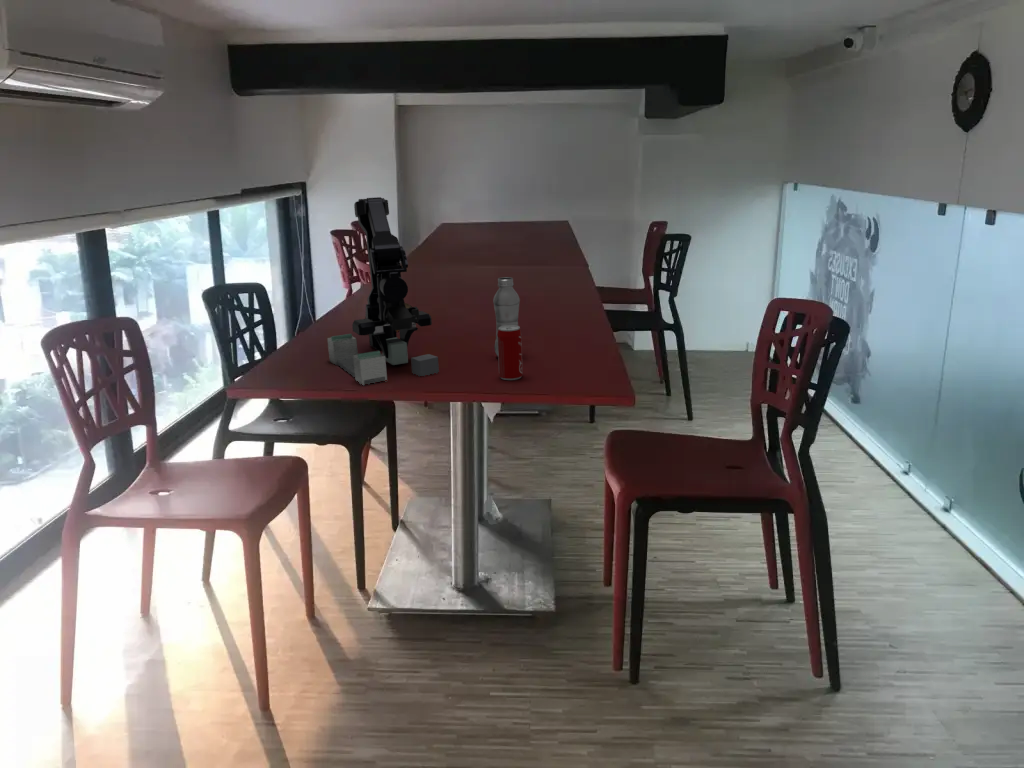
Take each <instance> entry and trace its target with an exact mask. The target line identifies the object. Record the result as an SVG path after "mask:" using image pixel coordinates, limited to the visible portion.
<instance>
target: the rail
mask: <svg viewBox="0 0 1024 768" xmlns="http://www.w3.org/2000/svg"><path fill="white" fill-rule="evenodd" d="M327 350H328V357H329V362H330V363H332V364H333V365H334V364H335V366H338V367H339V366H340V367H339V368H340V369H342V368H343V369H344V370H343V369H342V370H343V371H345V372H346V371H347V372H348V373H347V372H346V373H347V374H349V375H350V374H351V375H352V376H351V375H350V376H351V377H352V378H354V377H355V378H354V379H355V381H356V382H357V381H358V382H359V383H358V382H357V383H358V384H360V385H361V384H362V385H363V386H366V385H365V384H368V385H371V384H370V383H374V384H376V383H375V382H380V381H385V380H387V381H388V374H387V364H386V363H387V361H386V360H385V356H384V355H383V353H381V351H380V350H373V351H368V352H366V351H365V352H362V353H361V352H360V353H359V351H358V342H357V337H354V336H353V334H352V333H346V334H340V335H332V336H330V337H327ZM385 382H386V381H385ZM380 383H381V382H380ZM362 385H361V386H362Z"/></svg>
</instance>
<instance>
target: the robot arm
mask: <svg viewBox="0 0 1024 768" xmlns="http://www.w3.org/2000/svg"><path fill="white" fill-rule="evenodd" d="M353 207H354V216H355V218H357V222H358V225H359V227H360V228H361V229H362V231H363V232H364V233H365V237H366V238H365V240H366V247H367V248H366V249H367V256H368V264H369V274H370V275H369V276H370V281H371V282H370V283H371V290H370V292H369V294H368V297H367V300H366V301H367V304H365V316H364V318H362V319H355V320H354V321H353V322H352V325H351V326H352V332H353V333H356V334H357V335H359V336H366V335H368V339H369V346H370V347H372V348H374V349H375V351H380V350H381V351H382V352H383V353H382V354H384V356H385V358H388V349H387V342H386V339H390V338H396V337H397V338H398V336H397V335H398V334H397V332H396V331H398V330H399V332H398V333H399V339H400V340H402V341H404V342H406V343H407V347H408V345H409V343H410V342H409V341H410V339H411V337H412V335H413V333H414V332H416V331H418V330H419V328H418V327H417V326H420V327H427V326H432V324H433V321H432V315H430V314H429V313H427V312H425V311H424V310H420V311H419V308H418V307H417V306H412V307H410V308H406V307H405V303H406V301H405V298H406V296H407V295H408V291H409V287H408V284H407V283H406V281H405V280H404V279H403V278H402V274H401V273H407V271H408V267H409V262H408V258H407V254H406V250H405V249H404V247H403V246H402V245H400V242H399V238H398V237H397V236H395V235H394V234H392V233H391V228H390V225H389V221H388V220H389V219H388V217H387V216H389V215H390V207H389V200H388V199H385V198H384V197H381V196H379V197H378V196H377V197H366V198H359V199H358V200H357V201H355V202H354V205H353ZM365 317H366V319H365Z"/></svg>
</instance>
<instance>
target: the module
mask: <svg viewBox="0 0 1024 768" xmlns="http://www.w3.org/2000/svg"><path fill="white" fill-rule="evenodd" d="M386 342H387V349H388V358H385V360H386V363H389V365H392V366H395V365H396V366H397V365H401V364H408V363H409V355H408V346H407V343H406V342H404V341H402V340H400V337H399V338H398V336H397V337H396V338H390V339H386ZM381 354H383V352H382V353H381ZM383 355H384V354H383Z"/></svg>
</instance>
